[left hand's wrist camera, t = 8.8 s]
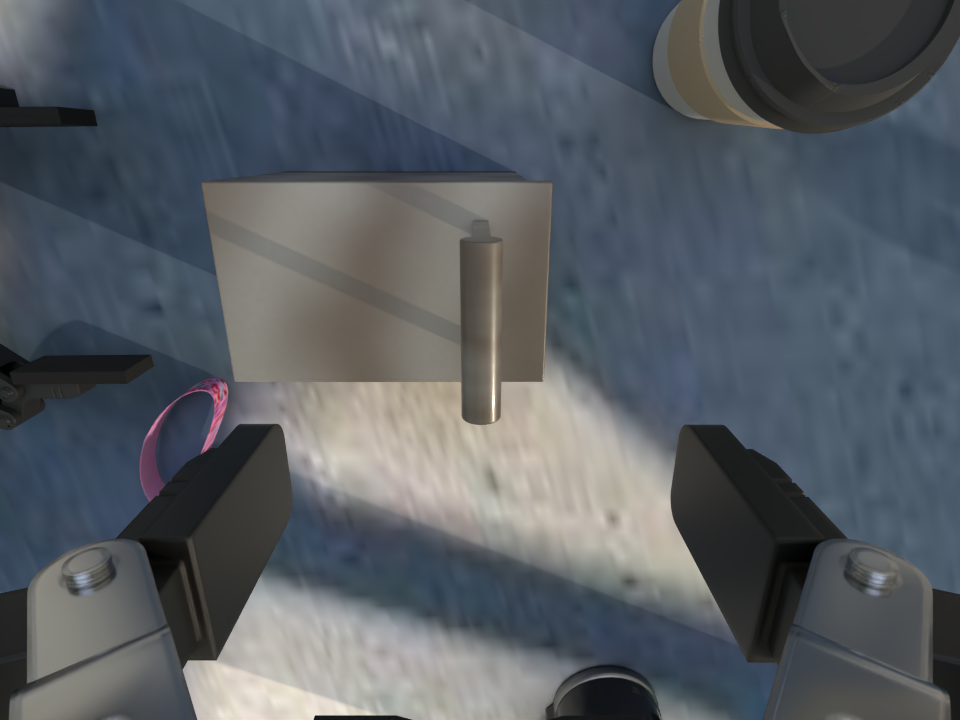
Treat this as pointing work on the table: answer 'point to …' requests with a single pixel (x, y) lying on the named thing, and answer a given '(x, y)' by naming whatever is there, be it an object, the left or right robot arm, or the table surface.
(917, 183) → the table surface
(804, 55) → the coffee cup
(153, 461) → the headband
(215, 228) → the lid
